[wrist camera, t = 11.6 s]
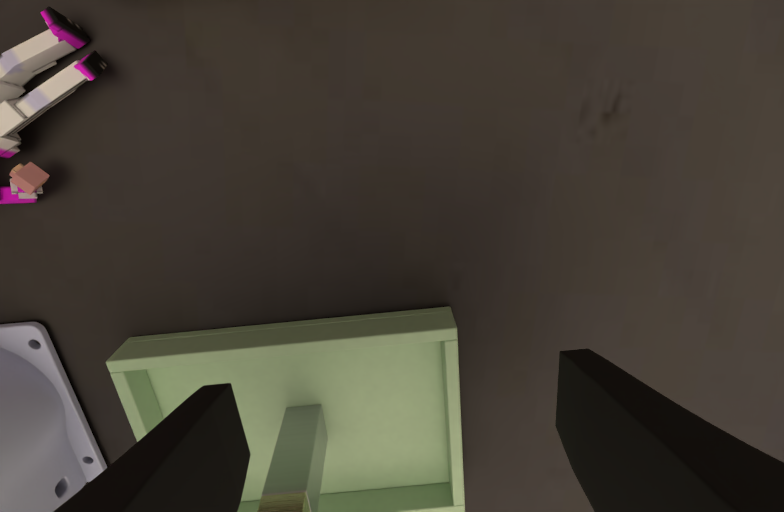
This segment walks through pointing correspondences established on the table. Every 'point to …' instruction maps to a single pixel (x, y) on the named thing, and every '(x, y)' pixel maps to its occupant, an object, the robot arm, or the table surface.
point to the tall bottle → (296, 462)
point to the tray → (324, 400)
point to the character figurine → (38, 93)
